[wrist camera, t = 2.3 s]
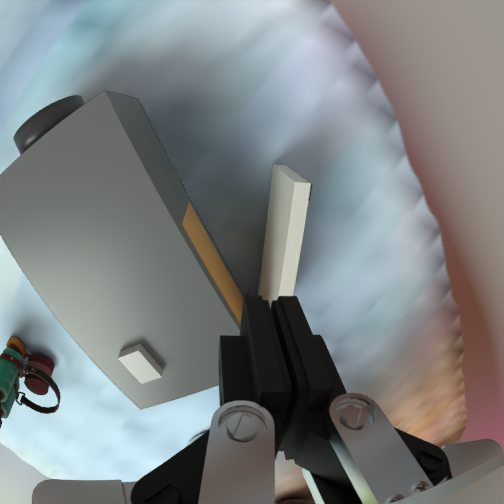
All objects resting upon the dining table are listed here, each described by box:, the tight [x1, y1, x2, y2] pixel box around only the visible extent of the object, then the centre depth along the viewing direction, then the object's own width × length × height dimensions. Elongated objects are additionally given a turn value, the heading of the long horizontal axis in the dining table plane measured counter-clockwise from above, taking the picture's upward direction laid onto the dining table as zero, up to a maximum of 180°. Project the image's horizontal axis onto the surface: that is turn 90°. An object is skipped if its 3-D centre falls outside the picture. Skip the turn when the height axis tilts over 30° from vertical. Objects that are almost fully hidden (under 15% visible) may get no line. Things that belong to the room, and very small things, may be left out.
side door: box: [258, 164, 312, 309], centre depth 24 cm, size 14×2×7 cm, turn 174°
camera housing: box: [0, 91, 244, 410], centre depth 22 cm, size 24×12×9 cm, turn 24°
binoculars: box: [0, 337, 60, 428], centre depth 27 cm, size 9×11×10 cm
